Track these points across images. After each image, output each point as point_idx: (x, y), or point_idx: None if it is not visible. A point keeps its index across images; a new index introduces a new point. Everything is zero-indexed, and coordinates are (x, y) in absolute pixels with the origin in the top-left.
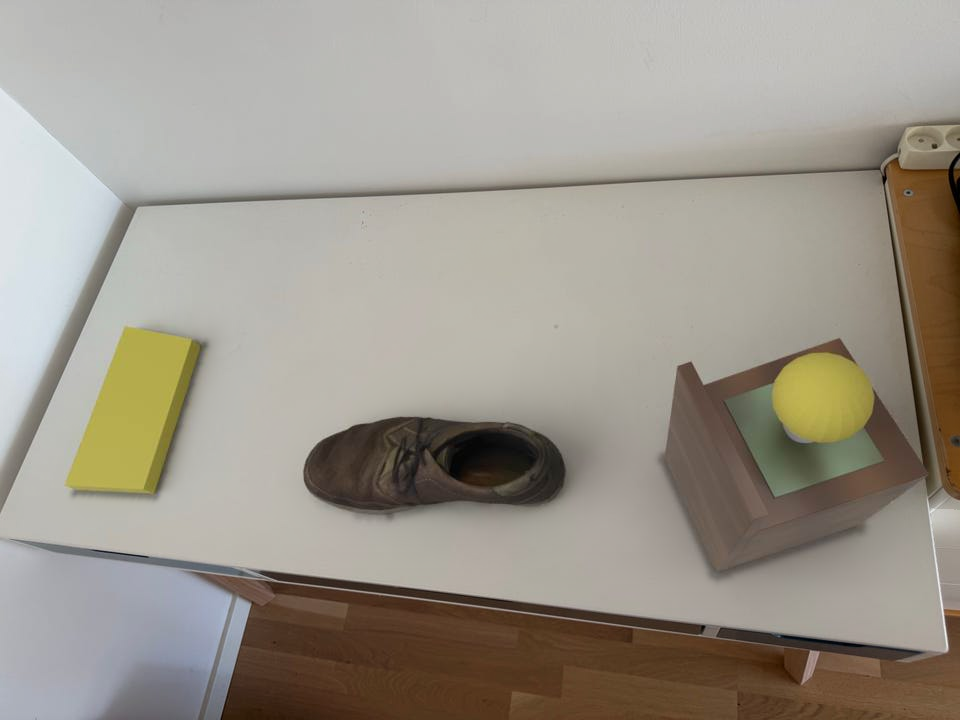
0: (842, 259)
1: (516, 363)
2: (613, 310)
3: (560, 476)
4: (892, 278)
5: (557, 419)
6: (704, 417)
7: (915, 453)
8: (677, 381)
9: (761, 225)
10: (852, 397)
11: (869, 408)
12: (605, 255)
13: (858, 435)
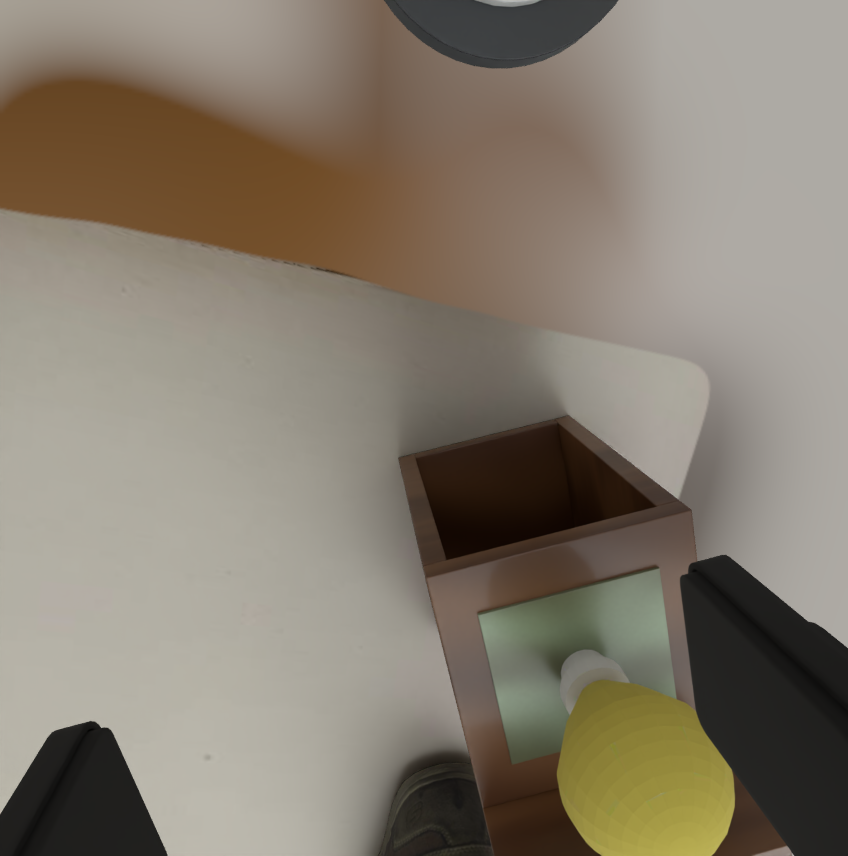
0: (108, 313)
1: (267, 807)
2: (185, 678)
3: (470, 787)
4: (159, 242)
5: (365, 757)
6: None
7: (656, 520)
8: None
9: (15, 430)
10: (717, 814)
11: (712, 752)
12: (68, 684)
13: (611, 594)
